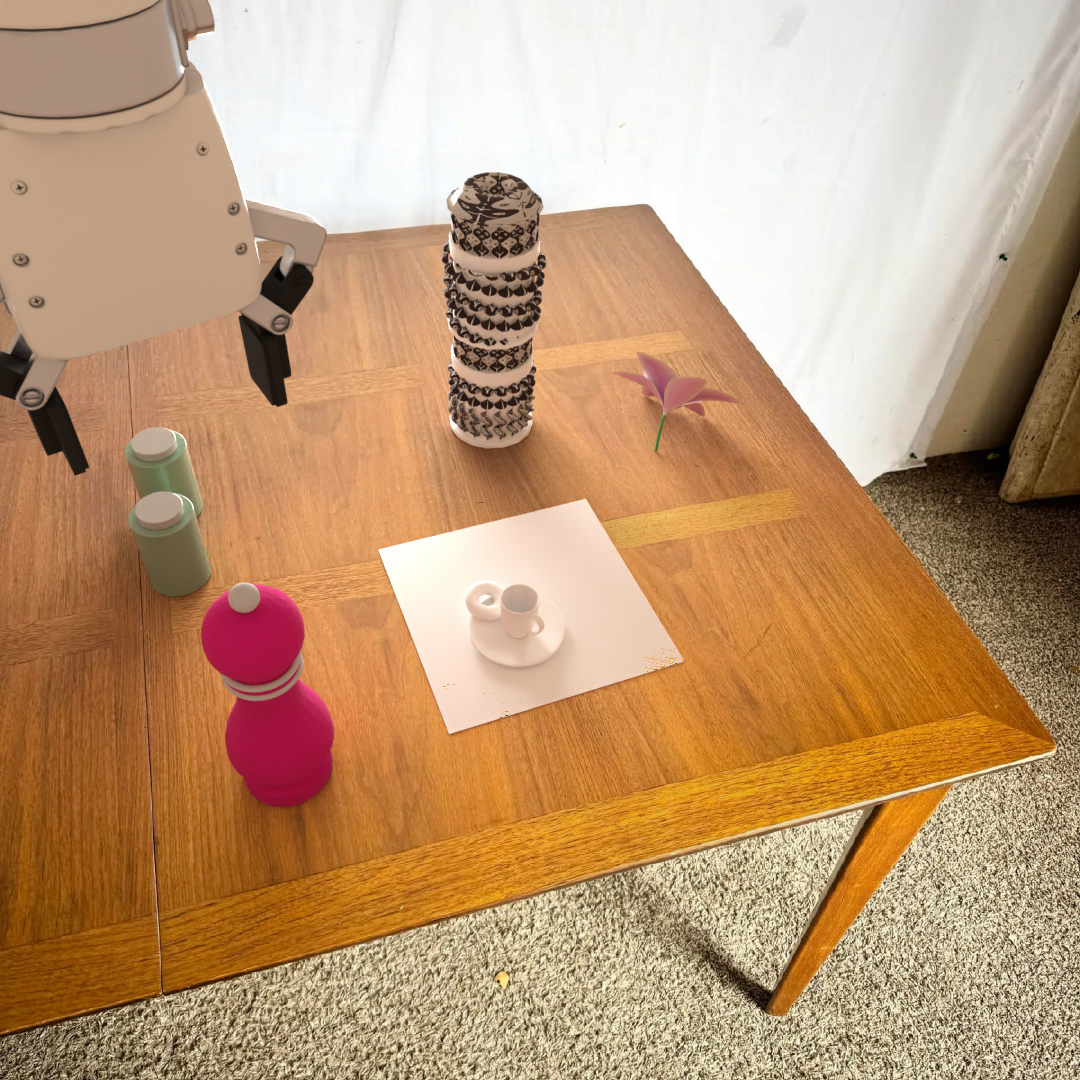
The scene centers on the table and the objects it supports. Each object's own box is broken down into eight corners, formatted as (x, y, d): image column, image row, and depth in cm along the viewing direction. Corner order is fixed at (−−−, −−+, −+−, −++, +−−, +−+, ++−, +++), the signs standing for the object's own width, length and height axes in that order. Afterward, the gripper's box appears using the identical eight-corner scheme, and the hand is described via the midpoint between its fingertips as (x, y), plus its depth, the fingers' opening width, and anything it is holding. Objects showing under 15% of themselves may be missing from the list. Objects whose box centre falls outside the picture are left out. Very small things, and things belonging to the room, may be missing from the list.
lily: (743, 461, 97) (763, 366, 94) (670, 467, 89) (689, 363, 86) (652, 434, 105) (668, 345, 102) (578, 437, 97) (593, 341, 94)
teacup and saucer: (452, 600, 81) (451, 568, 78) (540, 577, 83) (542, 545, 80) (487, 681, 75) (488, 650, 72) (580, 654, 78) (584, 622, 75)
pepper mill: (338, 720, 72) (305, 536, 58) (341, 807, 67) (306, 630, 53) (239, 731, 71) (180, 547, 57) (235, 821, 66) (169, 644, 52)
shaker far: (139, 528, 85) (115, 460, 79) (151, 489, 88) (129, 421, 82) (197, 527, 85) (178, 460, 79) (207, 489, 89) (189, 421, 83)
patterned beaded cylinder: (459, 458, 93) (456, 219, 75) (435, 401, 99) (427, 166, 81) (548, 442, 96) (566, 206, 78) (519, 387, 102) (530, 156, 84)
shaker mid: (144, 597, 79) (118, 530, 74) (156, 553, 83) (132, 485, 77) (206, 596, 80) (185, 529, 74) (215, 552, 83) (196, 484, 77)
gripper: (257, -15, 40) (307, 333, 52) (-225, 53, 33) (-35, 438, 45) (338, 46, 36) (371, 408, 48) (-194, 139, 29) (7, 537, 41)
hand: (175, 422), depth 47 cm, fingers open, 9 cm apart
